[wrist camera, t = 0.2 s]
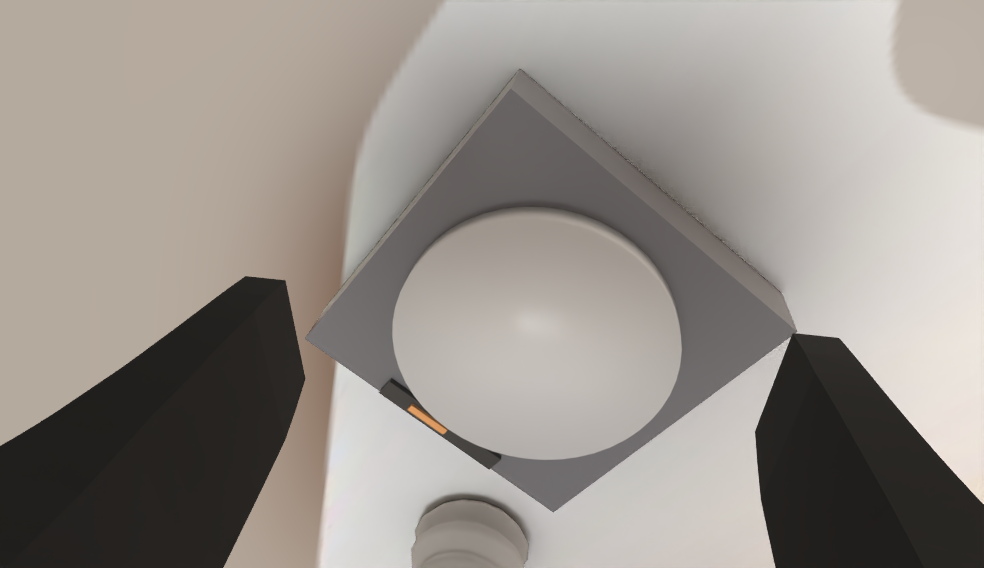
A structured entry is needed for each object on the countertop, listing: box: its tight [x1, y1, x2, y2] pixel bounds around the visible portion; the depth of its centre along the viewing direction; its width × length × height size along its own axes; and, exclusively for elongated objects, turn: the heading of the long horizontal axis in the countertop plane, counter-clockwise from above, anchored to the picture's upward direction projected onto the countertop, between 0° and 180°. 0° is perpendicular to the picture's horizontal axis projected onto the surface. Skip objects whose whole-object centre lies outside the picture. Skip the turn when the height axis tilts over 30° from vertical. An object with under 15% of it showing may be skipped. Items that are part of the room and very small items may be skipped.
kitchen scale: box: [305, 69, 797, 512], centre depth 21 cm, size 10×10×3 cm
